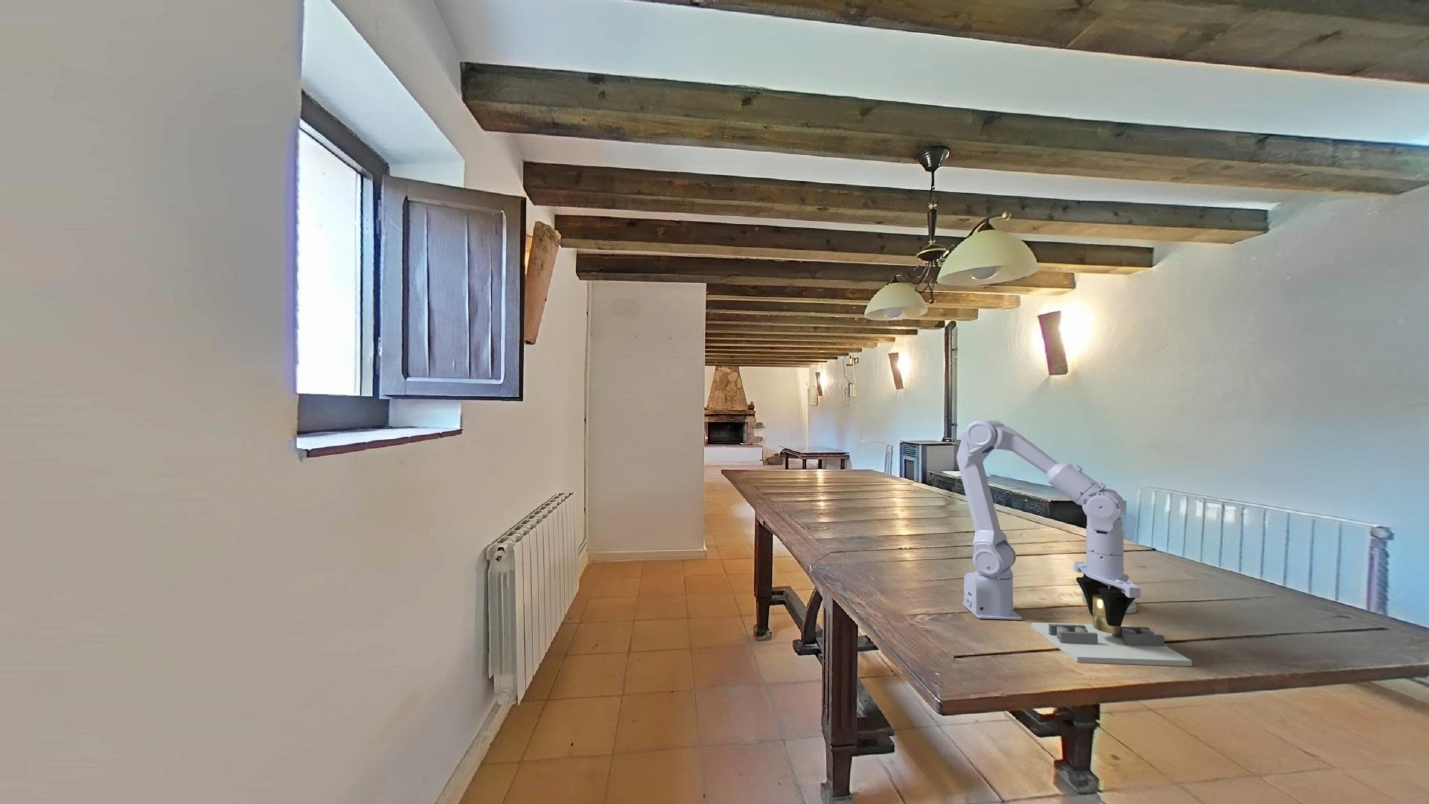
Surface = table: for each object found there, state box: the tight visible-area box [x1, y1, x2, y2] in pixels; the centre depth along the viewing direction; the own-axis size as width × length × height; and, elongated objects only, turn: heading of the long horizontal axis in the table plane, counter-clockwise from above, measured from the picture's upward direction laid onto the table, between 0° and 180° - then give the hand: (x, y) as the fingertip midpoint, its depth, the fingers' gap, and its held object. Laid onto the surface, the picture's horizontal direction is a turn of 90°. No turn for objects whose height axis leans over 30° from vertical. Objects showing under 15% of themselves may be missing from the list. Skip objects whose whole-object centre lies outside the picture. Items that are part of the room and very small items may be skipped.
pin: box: [1092, 594, 1119, 634], centre depth 94 cm, size 4×4×6 cm
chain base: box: [1030, 622, 1193, 667], centre depth 94 cm, size 20×14×3 cm
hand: (1105, 620), depth 94 cm, fingers closed on pin, 4 cm apart
